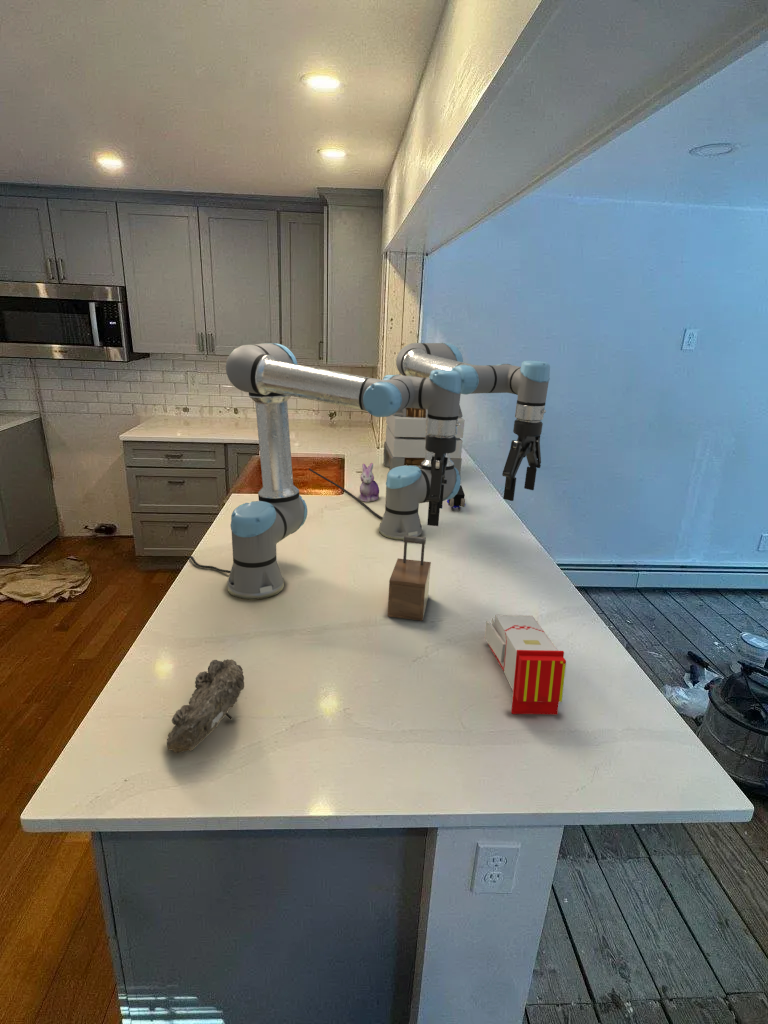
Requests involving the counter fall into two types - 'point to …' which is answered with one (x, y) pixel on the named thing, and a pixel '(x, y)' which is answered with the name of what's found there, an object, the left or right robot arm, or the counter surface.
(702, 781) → the counter surface
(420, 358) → the right robot arm
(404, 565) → the lid
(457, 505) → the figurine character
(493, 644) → the toy
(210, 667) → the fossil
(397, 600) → the brown hollow box
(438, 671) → the counter surface
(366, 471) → the figurine
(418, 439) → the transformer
